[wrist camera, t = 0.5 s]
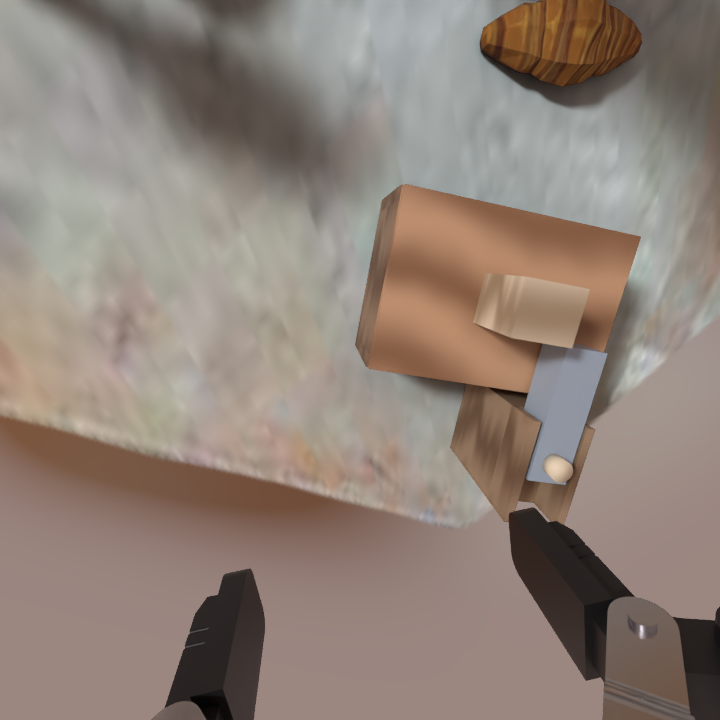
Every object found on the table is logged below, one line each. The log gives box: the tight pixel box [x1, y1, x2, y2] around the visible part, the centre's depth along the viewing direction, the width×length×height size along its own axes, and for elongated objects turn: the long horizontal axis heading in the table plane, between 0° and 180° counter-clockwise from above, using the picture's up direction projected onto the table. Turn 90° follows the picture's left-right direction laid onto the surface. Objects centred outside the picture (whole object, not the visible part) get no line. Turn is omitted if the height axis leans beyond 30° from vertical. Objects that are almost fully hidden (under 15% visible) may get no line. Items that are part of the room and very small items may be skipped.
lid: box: [367, 184, 641, 393], centre depth 28 cm, size 13×18×7 cm
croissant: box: [480, 0, 642, 87], centre depth 33 cm, size 14×7×5 cm, turn 90°
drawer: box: [524, 344, 608, 485], centre depth 30 cm, size 10×3×4 cm, turn 169°
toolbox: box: [355, 185, 595, 525], centre depth 34 cm, size 22×18×12 cm
